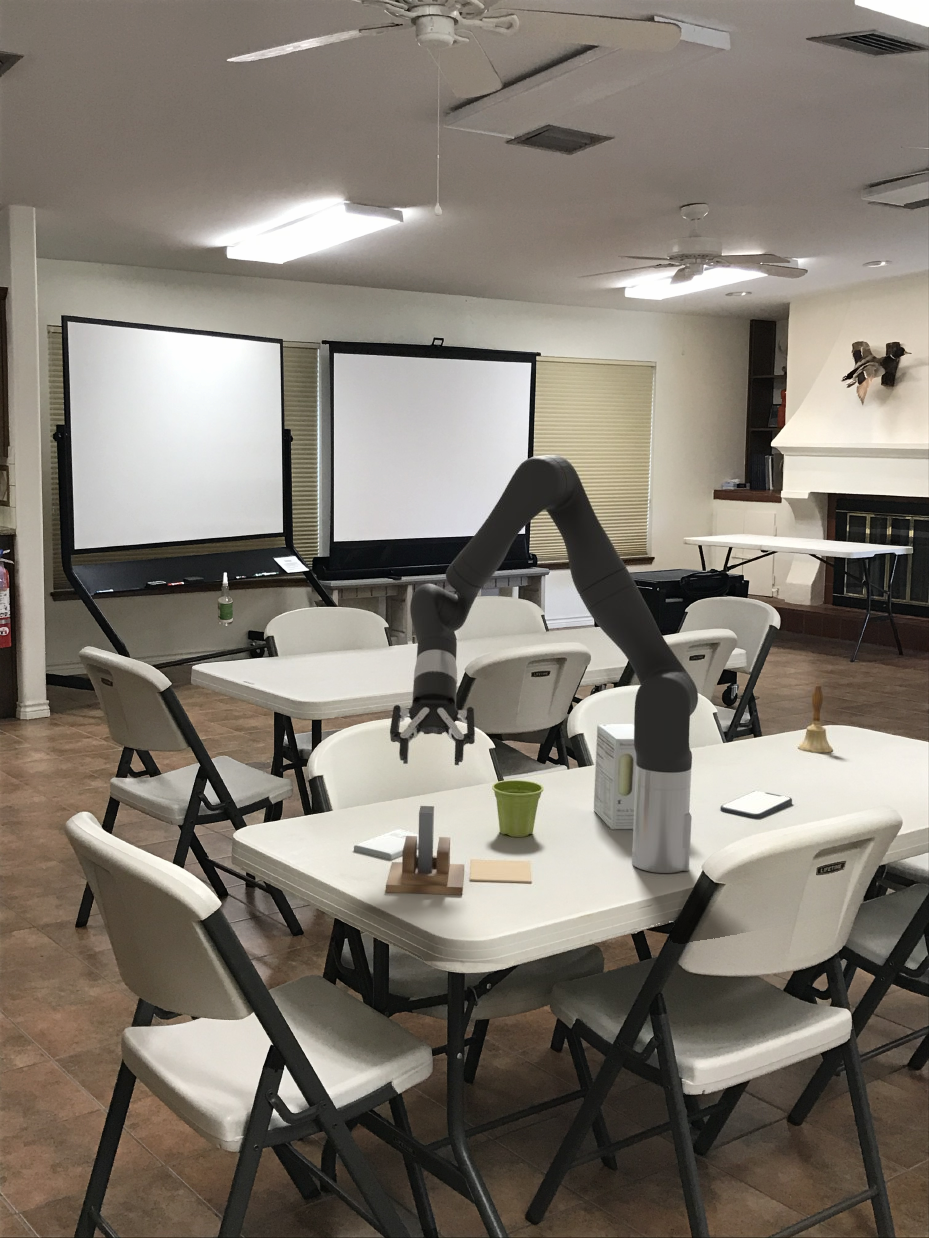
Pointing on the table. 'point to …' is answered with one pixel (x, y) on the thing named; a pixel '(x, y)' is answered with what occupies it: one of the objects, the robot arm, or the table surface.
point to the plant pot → (517, 806)
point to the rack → (439, 882)
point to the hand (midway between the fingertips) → (431, 762)
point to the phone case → (756, 804)
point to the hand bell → (816, 728)
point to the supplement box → (615, 775)
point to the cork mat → (500, 871)
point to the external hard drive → (386, 844)
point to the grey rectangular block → (425, 839)
